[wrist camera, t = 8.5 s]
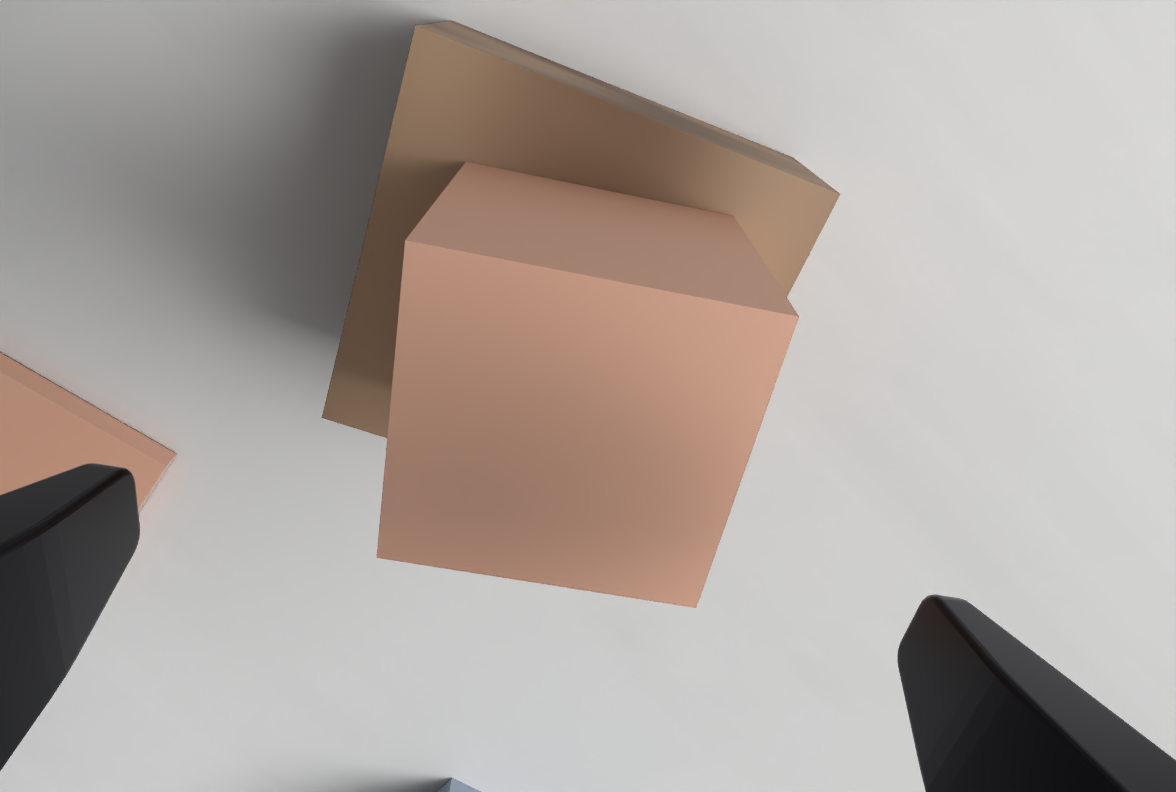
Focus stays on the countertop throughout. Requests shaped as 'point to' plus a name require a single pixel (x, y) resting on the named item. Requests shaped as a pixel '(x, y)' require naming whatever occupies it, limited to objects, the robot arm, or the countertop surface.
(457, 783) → the slate-blue cube
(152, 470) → the terracotta tile
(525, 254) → the terracotta cube
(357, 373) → the walnut base block
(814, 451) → the countertop surface
